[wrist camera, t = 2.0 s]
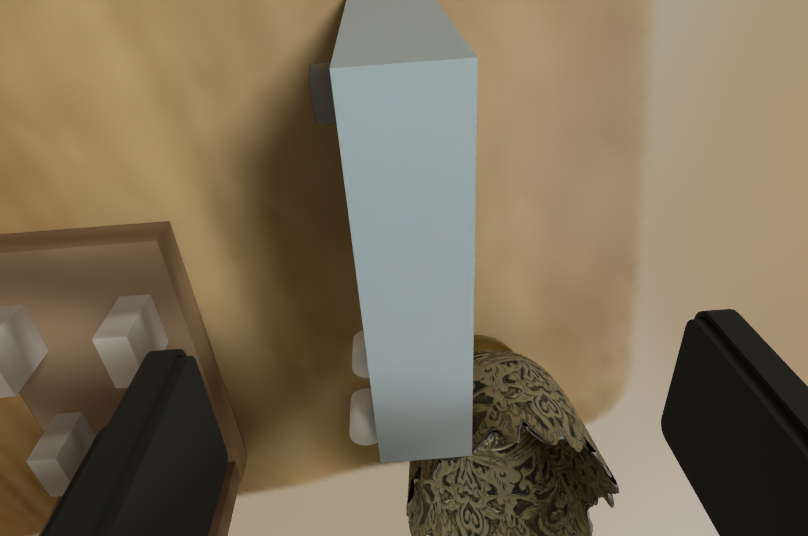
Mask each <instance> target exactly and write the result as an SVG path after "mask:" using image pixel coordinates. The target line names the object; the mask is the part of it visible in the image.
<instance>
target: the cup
mask: <svg viewBox="0 0 808 536" xmlns="http://www.w3.org/2000/svg"><path fill="white" fill-rule="evenodd" d="M409 469H410V470H409V488H408V501H407V516H409V527H410V532H411V535H412V536H426V535H429V536H592V531H593V525H592V523H591V521H590V518H589V512H588V509H589V508H590V507H592V506H593V505H597V503H598V498H600V497H604V498H605V500H606V501H607V503H608V504H609V505H610V507H611V508H613V506H614V500H613V497H612V494H616V493H619V488H618V485H617V483H616V480H615V479H614V477H613V475H612V473H611V472H610V470H609V468H608V467H607V465H606V463H605V461H604V459H603V457H602V456H601V454H600V452H599V451H598V449H597V447H596V445H595V443H594V442H593V440H592V438H591V436H590V435H589V433H588V431H587V429H586V428H585V426H584V424H583V422H582V421H581V419H580V417H579V416H578V414H577V412H576V411H575V409H574V407H573V406H572V404H571V402H570V401H569V399H568V398H567V396H566V395H565V393H564V392H563V390H562V389H561V388H560V386H559V385H558V384H557V382H556V381H555V380H554V379H553V378H552V376H551V375H550V374H549V373H548V372H547V371H546V370H544V369H543V368H542V367H541V366H539V365H538V364H537V363H535V362H534V361H532V360H530V359H528V358H526V357H524V356H522V355H519V354H516V353H514V352H513V351H512V350H511V349H510V348H509V347H508V346H507V345H505V344H504V343H503V342H501V341H499V340H497V339H495V338H492V337H486V336H475V337H474V345H473V416H472V456H462V457H450V458H438V459H426V460H414V461H410V468H409ZM597 497H598V498H597ZM590 505H591V506H590Z"/></svg>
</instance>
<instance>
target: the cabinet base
mask: <svg viewBox="0 0 808 536" xmlns="http://www.w3.org/2000/svg"><path fill="white" fill-rule="evenodd" d="M171 349H182V350H183V351H184V352H185V353H186V355H187V356H193V357H194V358H195V359H196V361H197V364H198V367H199V370H200V373H201V376H202V379H203V382H204V385H205V388H206V391H207V394H208V397H209V400H210V402H211V405H212V408H213V411H214V414H215V417H216V420H217V423H218V426H219V429H220V432H221V435H222V438H223V441H224V444H225V446H226V450H227V455H228V464H227V470H226V474H225V478H224V481H223V485H222V488H221V492H220V495H219V499H218V502H217V506H216V509H215V513H214V517H213V520H212V524H211V527H210V531H209V534H208V536H227V535H228V531H229V527H230V522H231V518H232V513H233V509H234V504H235V500H236V496H237V491H238V487H239V482H240V480H242V478H243V474H244V469H245V465H246V460H247V456H248V455H247V452H246V449H245V446H244V443H243V440H242V437H241V434H240V431H239V428H238V425H237V422H236V419H235V416H234V413H233V410H232V407H231V404H230V401H229V398H228V395H227V392H226V389H225V386H224V383H223V380H222V377H221V374H220V371H219V368H218V365H217V363H216V360H215V357H214V354H213V351H212V348H211V345H210V342H209V339H208V336H207V333H206V330H205V327H204V324H203V321H202V318H201V315H200V312H199V309H198V306H197V303H196V300H195V297H194V294H193V291H192V288H191V285H190V282H189V279H188V276H187V273H186V270H185V267H184V264H183V261H182V258H181V255H180V252H179V249H178V246H177V243H176V240H175V237H174V234H173V231H172V228H171V225H170V222H169V221H168V222H155V223H142V224H129V225H116V226H103V227H90V228H78V229H65V230H52V231H39V232H26V233H13V234H0V398H4V397H16V396H17V394H18V393H20V395H21V396H22V398H23V400H24V401H25V403H26V404H27V406H28V408H29V409H30V411H31V412H32V414H33V416H34V417H35V419H36V420H37V422H38V424H39V425H40V427H41V428H42V430H43V431H44V433H43V434H42V436H41V438H40V439H39V441H38V442H37V444H36V446H35V447H34V449H33V450H32V452H31V454H30V455H29V457H28V459H27V460H26V462H27V464H28V465H29V467H30V468H31V470H32V471H33V473H34V474H35V476H36V477H37V479H38V480H39V481H40V483H41V484H42V486H43V487H44V489H45V490H46V492H47V493H48V495H49V496H50V497H56V496H59V498H58V500H57V502H56V504H55V506H54V508H53V510H52V512H51V513H50V515H49V517H48V519H47V521H46V523H45V525H44V527H43V529H42V531H41V532H40V534H39V536H40V535H41V534H42V532H43V530H44V528H45V526H46V525H47V523H48V521H49V519H50V518H51V516H52V514H53V512H54V510H55V509H56V507H57V505H58V503H59V501H60V500H61V498H62V496H63V494H64V493H65V491H66V489H67V487H68V485H69V484H70V482H71V480H72V478H73V476H74V475H75V473H76V471H77V469H78V467H79V466H80V464H81V462H82V460H83V459H84V457H85V455H86V453H87V451H88V450H89V448H90V446H91V444H92V442H93V441H94V439H95V437H96V436H97V434H98V433H99V432H100V430H101V429H102V428H104V427H105V426H107V425H108V423H109V421H110V420H111V418H112V416H113V414H114V412H115V411H116V409H117V407H118V405H119V403H120V401H121V400H122V398H123V396H124V394H125V392H126V390H127V389H128V387H129V385H130V383H131V381H132V380H133V378H134V376H135V374H136V372H137V370H138V369H139V367H140V365H141V363H142V361H143V360H144V358H145V356H146V355H147V353H148V352H150V351H157V350H171Z"/></svg>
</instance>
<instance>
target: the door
mask: <svg viewBox="0 0 808 536" xmlns="http://www.w3.org/2000/svg"><path fill="white" fill-rule="evenodd" d="M477 63H478V57H477V56H476V55H475V53H474V52H473V50H472V49H471V48H470V46H469V45H468V43H467V42H466V41H465V39H464V38H463V37H462V35H461V34H460V32H459V31H458V30H457V28H456V27H455V25H454V24H453V23H452V21H451V20H450V19H449V17H448V16H447V14H446V13H445V12H444V10H443V9H442V8H441V6H440V5H439V3H438V2H437V1H436V0H346V4H345V8H344V12H343V16H342V20H341V24H340V28H339V32H338V36H337V40H336V44H335V48H334V52H333V56H332V60H331V62H326V63H313V64H310V67H309V81H310V93H311V101H312V107H313V113H314V117H315V121H316V124H317V125H330V124H337V130H338V138H339V146H340V153H341V161H342V169H343V177H344V184H345V192H346V200H347V207H348V215H349V223H350V231H351V238H352V246H353V254H354V262H355V269H356V277H357V285H358V292H359V300H360V308H361V316H362V323H363V330H362V331H359V332H358V333H356V334H355V336H354V337H353V351H352V370H353V372H354V373H355V374H356V375H357V376H359V377H362V378H370V385H371V388H363V389H359V390H357V391H356V392H354V393H353V394H352V396H351V403H350V429H349V436H350V438H351V440H352V441H353V442H355V443H357V444H359V445H373V444H376V443H378V447H379V455H380V462H381V463H390V462H402V461H414V460H426V459H438V458H450V457H462V456H472V416H473V345H474V275H475V204H476V134H477Z"/></svg>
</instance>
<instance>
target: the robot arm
mask: <svg viewBox="0 0 808 536" xmlns="http://www.w3.org/2000/svg"><path fill="white" fill-rule="evenodd" d="M661 427H662V431H663V435H664V437H665V439H666V441H667V443H668V445H669V446H670V448H671V450H672V452H673V454H674V455H675V457H676V459H677V461H678V462H679V464H680V466H681V468H682V470H683V471H684V473H685V475H686V477H687V478H688V480H689V482H690V484H691V486H692V487H693V489H694V491H695V493H696V494H697V496H698V498H699V500H700V502H701V503H702V505H703V507H704V509H705V510H706V512H707V514H708V516H709V517H710V519H711V521H712V523H713V525H714V526H715V528H716V530H717V532H718V533H719V535H720V536H808V387H807V385H806V384H805V383H804V382H803V381H802V380H801V379H800V378H799V377H798V376H797V375H796V374H795V373H794V372H793V371H792V370H791V369H790V367H789V366H788V365H787V364H786V363H785V362H784V361H783V360H782V359H781V358H780V357H779V356H778V355H777V354H776V352H775V351H774V350H773V349H772V348H771V347H770V346H769V345H768V344H767V343H766V342H765V341H764V340H763V339H762V338H761V337H760V335H759V334H757V332H756V331H755V330H754V329H753V328H752V327H751V326H750V325H749V324H748V323H747V322H746V321H745V320H744V319H743V317H742V316H741V315H740V314H739V313H737V312H736V311H735V310H731V309H726V310H711V311H701V312H698V313H697V315H696V316H695V318H694V319H693V320H689V321H688V322H687V325H686V327H685V331H684V335H683V339H682V343H681V346H680V350H679V354H678V358H677V362H676V365H675V369H674V373H673V377H672V381H671V384H670V388H669V392H668V396H667V399H666V404H665V407H664V411H663V415H662V419H661ZM227 464H228V455H227V450H226V446H225V444H224V441H223V438H222V435H221V432H220V429H219V426H218V423H217V420H216V417H215V414H214V411H213V408H212V405H211V402H210V400H209V397H208V394H207V391H206V388H205V385H204V382H203V379H202V376H201V373H200V370H199V367H198V364H197V361H196V359H195V358H194V357H193V356H187V355H186V353H185V352H184V351H183V350H182V349H171V350H157V351H150V352H148V353H147V355H146V356H145V358H144V360H143V361H142V363H141V365H140V367H139V369H138V370H137V372H136V374H135V376H134V378H133V380H132V381H131V383H130V385H129V387H128V389H127V390H126V392H125V394H124V396H123V398H122V400H121V401H120V403H119V405H118V407H117V409H116V411H115V412H114V414H113V416H112V418H111V420H110V421H109V423H108V425H107V426H105V427H104V428H102V429H101V430H100V432H99V433H98V434H97V436H96V437H95V439H94V441H93V442H92V444H91V446H90V448H89V450H88V451H87V453H86V455H85V457H84V459H83V460H82V462H81V464H80V466H79V467H78V469H77V471H76V473H75V475H74V476H73V478H72V480H71V482H70V484H69V485H68V487H67V489H66V491H65V493H64V494H63V496H62V498H61V500H60V501H59V503H58V505H57V507H56V509H55V510H54V512H53V514H52V516H51V518H50V519H49V521H48V523H47V525H46V526H45V528H44V530H43V532H42V534H41V535H40V536H208V534H209V531H210V527H211V524H212V520H213V517H214V513H215V509H216V506H217V502H218V499H219V495H220V492H221V488H222V485H223V481H224V478H225V474H226V470H227Z"/></svg>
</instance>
